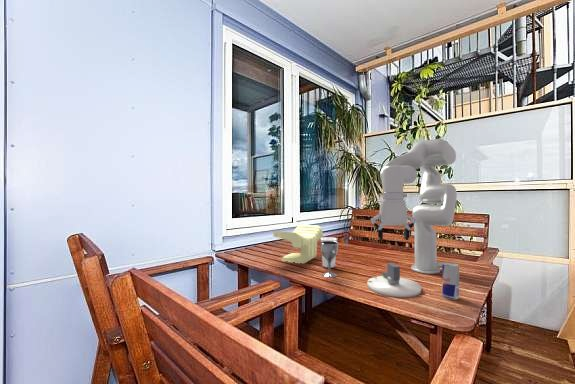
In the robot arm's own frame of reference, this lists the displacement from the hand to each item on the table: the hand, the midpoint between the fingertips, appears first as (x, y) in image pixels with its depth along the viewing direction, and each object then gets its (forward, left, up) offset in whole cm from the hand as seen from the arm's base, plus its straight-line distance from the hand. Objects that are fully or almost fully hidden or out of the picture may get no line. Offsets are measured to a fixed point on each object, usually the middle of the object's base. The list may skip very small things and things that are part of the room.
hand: (393, 239), depth 111 cm
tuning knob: (+1, -3, -17) cm, 17 cm away
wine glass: (+25, -14, -19) cm, 35 cm away
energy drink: (-18, +8, -19) cm, 28 cm away
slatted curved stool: (+41, -40, -19) cm, 60 cm away
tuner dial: (0, 0, -19) cm, 19 cm away
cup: (+25, -28, -19) cm, 42 cm away
